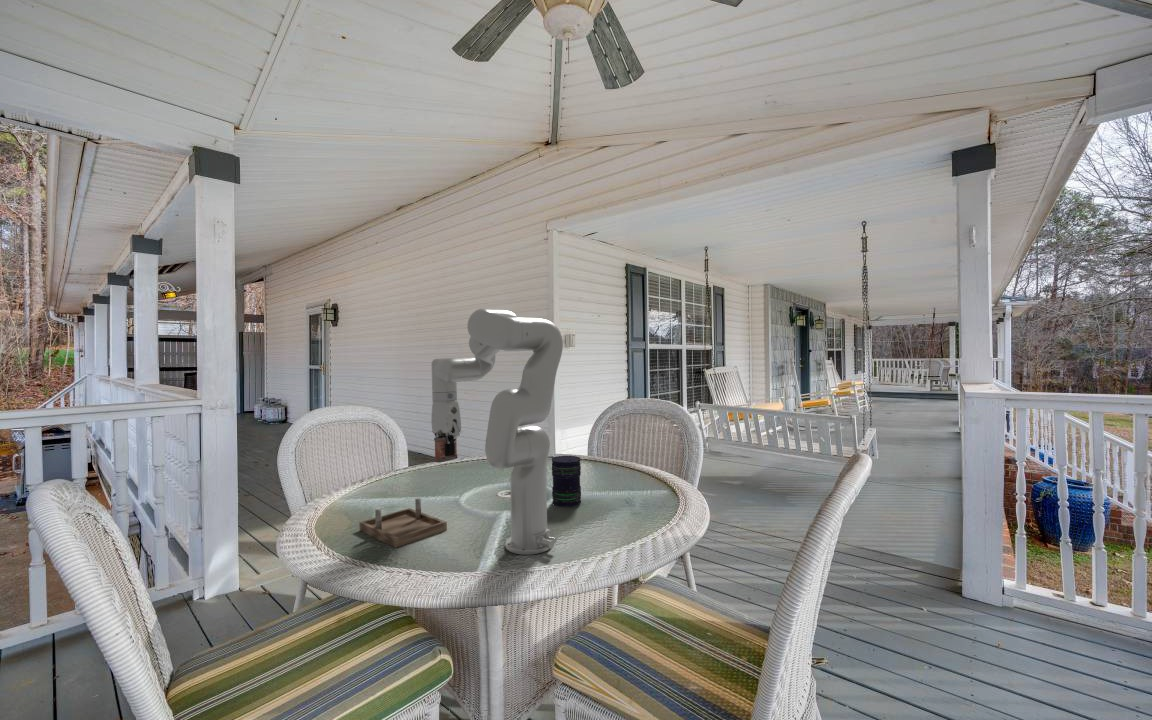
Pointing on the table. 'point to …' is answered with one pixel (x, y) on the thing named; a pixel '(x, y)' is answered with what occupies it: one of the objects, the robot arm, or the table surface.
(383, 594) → the table surface
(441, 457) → the lighter
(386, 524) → the pin tray
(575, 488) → the storage jar
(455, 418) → the robot arm
